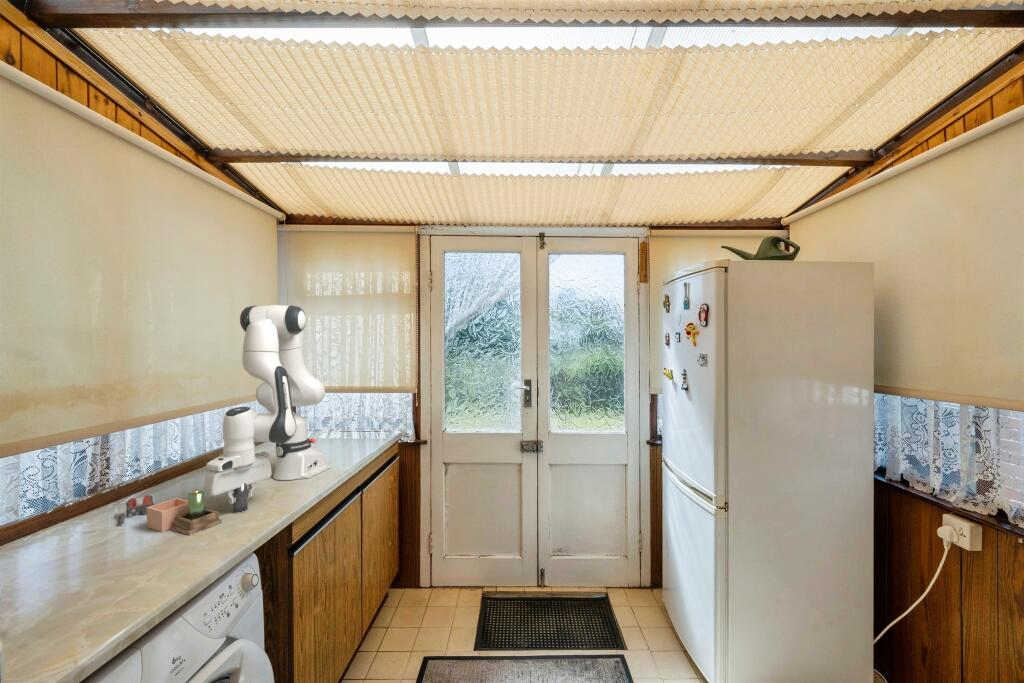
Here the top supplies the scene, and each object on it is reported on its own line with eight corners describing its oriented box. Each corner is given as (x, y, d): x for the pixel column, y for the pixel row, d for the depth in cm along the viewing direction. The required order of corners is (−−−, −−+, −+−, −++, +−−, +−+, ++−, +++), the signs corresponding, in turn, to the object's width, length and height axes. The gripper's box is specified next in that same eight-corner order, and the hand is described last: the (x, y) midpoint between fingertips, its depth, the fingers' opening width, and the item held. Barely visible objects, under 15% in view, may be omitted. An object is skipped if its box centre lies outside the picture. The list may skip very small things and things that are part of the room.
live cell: (200, 519, 135) (199, 488, 135) (208, 521, 134) (206, 489, 133) (186, 524, 132) (184, 492, 132) (193, 526, 130) (192, 494, 130)
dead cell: (242, 507, 147) (242, 478, 147) (250, 509, 145) (250, 480, 145) (230, 511, 143) (230, 482, 143) (238, 513, 142) (237, 484, 141)
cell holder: (204, 517, 139) (203, 506, 139) (221, 522, 135) (221, 511, 135) (171, 529, 131) (171, 517, 131) (189, 535, 127) (189, 523, 127)
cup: (177, 516, 140) (176, 497, 140) (192, 521, 136) (192, 501, 136) (147, 527, 133) (146, 507, 132) (162, 532, 129) (161, 511, 129)
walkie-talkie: (119, 508, 148) (116, 528, 133) (119, 495, 148) (116, 514, 133) (153, 502, 154) (154, 520, 138) (152, 489, 154) (153, 506, 138)
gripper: (263, 449, 155) (264, 488, 155) (200, 465, 136) (202, 509, 136) (275, 451, 152) (276, 490, 152) (213, 467, 133) (214, 513, 134)
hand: (240, 500), depth 144 cm, fingers closed on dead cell, 4 cm apart
